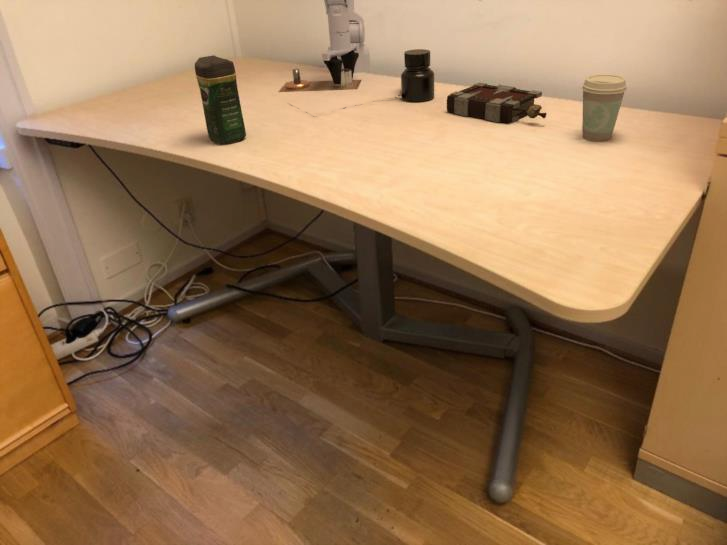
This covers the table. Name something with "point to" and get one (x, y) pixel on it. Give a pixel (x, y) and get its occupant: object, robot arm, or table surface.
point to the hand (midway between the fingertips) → (343, 81)
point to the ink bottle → (417, 76)
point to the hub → (297, 81)
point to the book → (494, 103)
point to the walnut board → (323, 86)
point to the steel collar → (345, 78)
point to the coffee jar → (220, 99)
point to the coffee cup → (601, 105)
